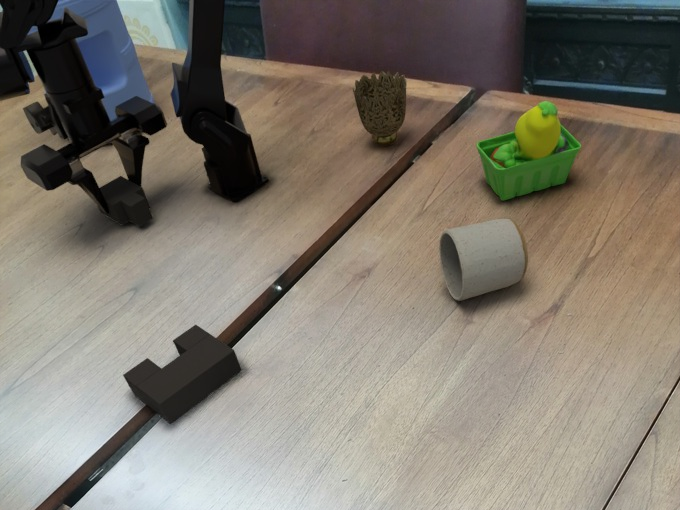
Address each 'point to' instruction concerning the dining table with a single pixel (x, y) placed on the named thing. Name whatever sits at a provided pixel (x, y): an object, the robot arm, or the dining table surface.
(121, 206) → the black pad
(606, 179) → the dining table surface
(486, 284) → the ceramic mug
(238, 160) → the robot arm
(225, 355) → the base pad
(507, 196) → the fruit basket
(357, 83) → the cup
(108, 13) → the water jug
